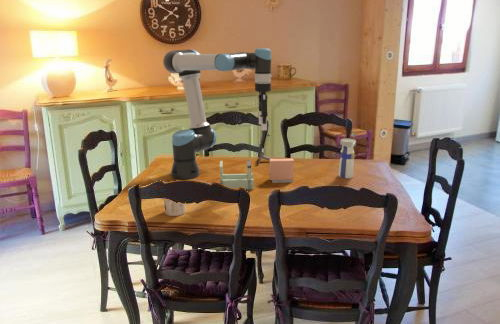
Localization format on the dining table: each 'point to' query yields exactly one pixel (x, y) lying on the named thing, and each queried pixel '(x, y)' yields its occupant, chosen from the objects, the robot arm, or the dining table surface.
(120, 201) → the dining table surface
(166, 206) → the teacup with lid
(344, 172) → the water bottle
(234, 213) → the dining table surface
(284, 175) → the pink cube
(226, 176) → the dispenser
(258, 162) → the toilet paper hanger
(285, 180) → the tray
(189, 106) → the robot arm
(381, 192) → the dining table surface
